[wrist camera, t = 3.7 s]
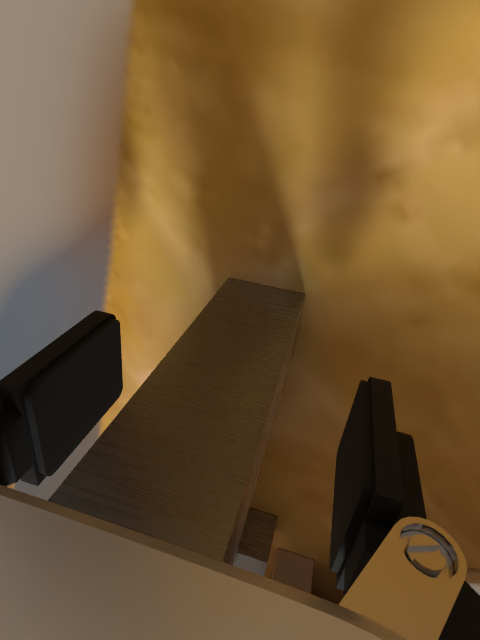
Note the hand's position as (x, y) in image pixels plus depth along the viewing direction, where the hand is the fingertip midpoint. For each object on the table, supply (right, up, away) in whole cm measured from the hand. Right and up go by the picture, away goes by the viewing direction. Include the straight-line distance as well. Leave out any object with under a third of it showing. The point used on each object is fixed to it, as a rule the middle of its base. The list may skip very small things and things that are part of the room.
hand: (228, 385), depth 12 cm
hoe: (+1, -3, +6) cm, 7 cm away
